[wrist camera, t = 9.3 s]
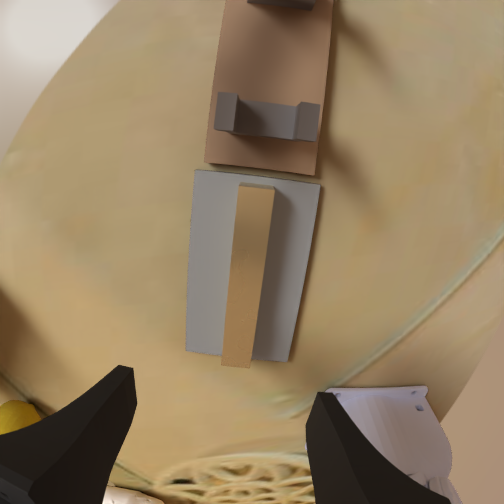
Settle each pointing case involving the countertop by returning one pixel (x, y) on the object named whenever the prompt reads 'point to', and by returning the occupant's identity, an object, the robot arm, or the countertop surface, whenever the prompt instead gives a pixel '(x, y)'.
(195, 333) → the mat
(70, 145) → the countertop surface
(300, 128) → the rack
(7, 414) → the lemon
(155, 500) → the white bottle
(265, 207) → the rail
